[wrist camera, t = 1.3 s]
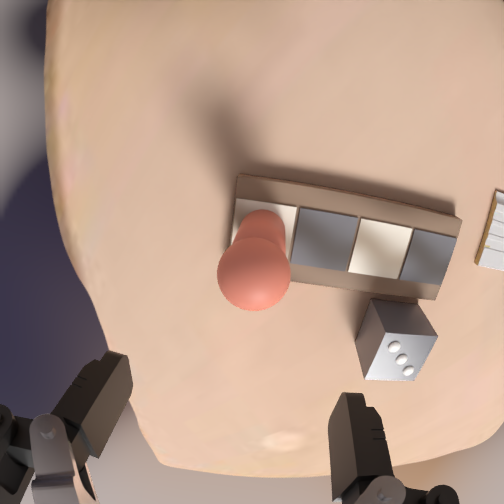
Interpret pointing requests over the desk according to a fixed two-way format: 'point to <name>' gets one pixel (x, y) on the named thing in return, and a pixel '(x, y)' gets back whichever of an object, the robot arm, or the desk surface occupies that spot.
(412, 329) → the die
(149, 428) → the desk surface
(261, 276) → the pawn
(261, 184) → the game strip
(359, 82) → the desk surface
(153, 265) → the desk surface
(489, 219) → the baseboard
